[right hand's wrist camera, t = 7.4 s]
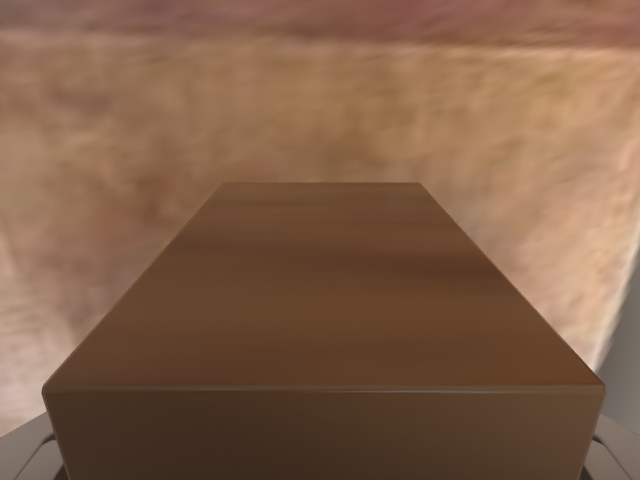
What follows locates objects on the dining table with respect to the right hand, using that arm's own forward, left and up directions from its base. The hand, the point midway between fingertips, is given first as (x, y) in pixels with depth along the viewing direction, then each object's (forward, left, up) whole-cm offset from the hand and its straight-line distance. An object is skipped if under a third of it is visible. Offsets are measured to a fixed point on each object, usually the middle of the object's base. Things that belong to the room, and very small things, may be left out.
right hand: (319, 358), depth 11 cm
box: (+10, 0, -4) cm, 11 cm away
